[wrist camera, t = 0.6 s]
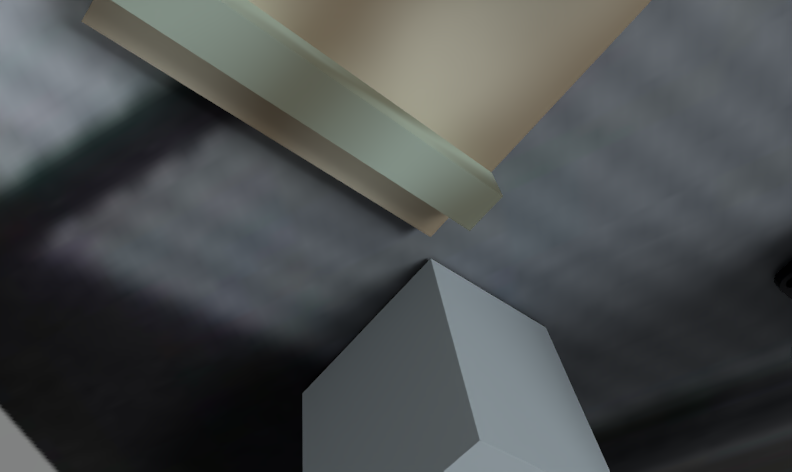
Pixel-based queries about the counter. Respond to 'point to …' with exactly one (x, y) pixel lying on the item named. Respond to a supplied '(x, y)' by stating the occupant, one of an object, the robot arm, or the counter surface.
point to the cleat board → (380, 81)
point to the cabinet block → (447, 391)
